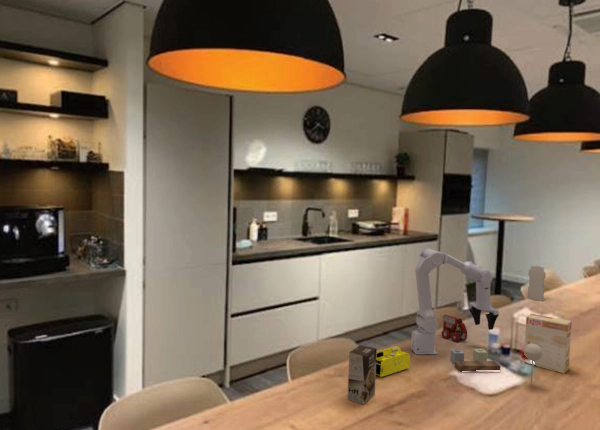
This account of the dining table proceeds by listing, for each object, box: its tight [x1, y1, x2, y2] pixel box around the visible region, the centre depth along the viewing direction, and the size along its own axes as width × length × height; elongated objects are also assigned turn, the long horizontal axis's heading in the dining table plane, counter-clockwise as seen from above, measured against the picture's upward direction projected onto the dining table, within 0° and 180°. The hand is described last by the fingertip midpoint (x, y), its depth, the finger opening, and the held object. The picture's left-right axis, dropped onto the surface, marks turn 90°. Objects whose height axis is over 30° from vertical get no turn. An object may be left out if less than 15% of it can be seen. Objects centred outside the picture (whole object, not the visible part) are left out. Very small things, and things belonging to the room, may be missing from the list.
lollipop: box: [523, 344, 542, 385], centre depth 166 cm, size 6×6×15 cm
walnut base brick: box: [454, 360, 501, 373], centre depth 179 cm, size 16×5×2 cm, turn 93°
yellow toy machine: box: [376, 345, 411, 378], centre depth 175 cm, size 16×6×8 cm, turn 126°
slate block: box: [449, 348, 465, 365], centre depth 186 cm, size 4×4×5 cm
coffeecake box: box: [523, 313, 572, 374], centre depth 183 cm, size 15×7×20 cm, turn 47°
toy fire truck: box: [440, 314, 468, 343], centre depth 214 cm, size 7×12×10 cm, turn 38°
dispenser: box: [527, 265, 547, 302], centre depth 293 cm, size 11×4×22 cm, turn 38°
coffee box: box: [347, 344, 378, 405], centre depth 153 cm, size 9×6×16 cm
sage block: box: [472, 348, 488, 361], centre depth 187 cm, size 4×4×5 cm
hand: (484, 326), depth 201 cm, fingers open, 7 cm apart
